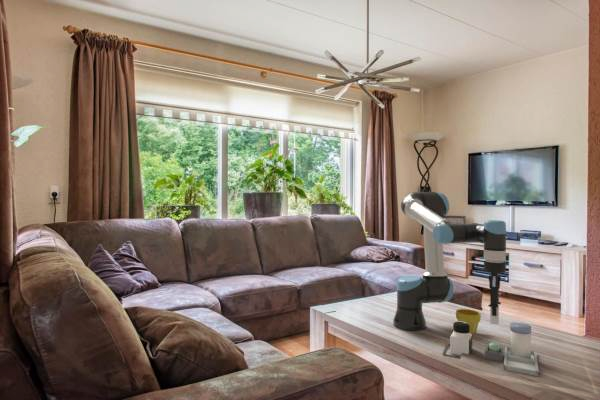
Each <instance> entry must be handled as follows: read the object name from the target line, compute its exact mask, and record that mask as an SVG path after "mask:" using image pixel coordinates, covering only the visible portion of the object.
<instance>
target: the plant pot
mask: <svg viewBox="0 0 600 400" xmlns="http://www.w3.org/2000/svg"><path fill="white" fill-rule="evenodd" d="M481 315H482V313H481V312H480V311H477V310H475V309H469V308H458V309H456V310H455V318H456V320H457V321H461V322H466V323H468V324H469V325H470V334H477V331H478V326H479V323H480V322H481Z"/></svg>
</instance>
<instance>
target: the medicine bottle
mask: <svg viewBox="0 0 600 400" xmlns="http://www.w3.org/2000/svg"><path fill="white" fill-rule="evenodd" d="M452 326H453V327H452V331H453V332H452V333H451V334H450V338H449V339H450V340H449V344H450V345H449V350H450V351H449V353H450V354H451V355H454V356H459V357H461V356H462V354H465V355H466V354H467V355H470V354H471V352H472V350H473V333H470V325H469V324H468V323H466V322H461V321H458V320H457V321H454V322H453V324H452Z"/></svg>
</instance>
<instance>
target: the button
mask: <svg viewBox="0 0 600 400" xmlns="http://www.w3.org/2000/svg"><path fill="white" fill-rule="evenodd" d="M488 344H489V345H488V346H489V351H494V352H500V348H501V344H500V343H497V342H489V343H488Z"/></svg>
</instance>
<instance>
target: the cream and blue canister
mask: <svg viewBox="0 0 600 400" xmlns="http://www.w3.org/2000/svg"><path fill="white" fill-rule="evenodd" d="M509 325H510V326H509V328H510V329H509V330H510V334H509V335H510V336H509V337H510V342H509V343H510V344H509V345H510V346H509V347H510V356H514V357H520V358H526V359H531V350H532V326H531V325H529V324H528V323H523V322H511V323H509Z"/></svg>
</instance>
